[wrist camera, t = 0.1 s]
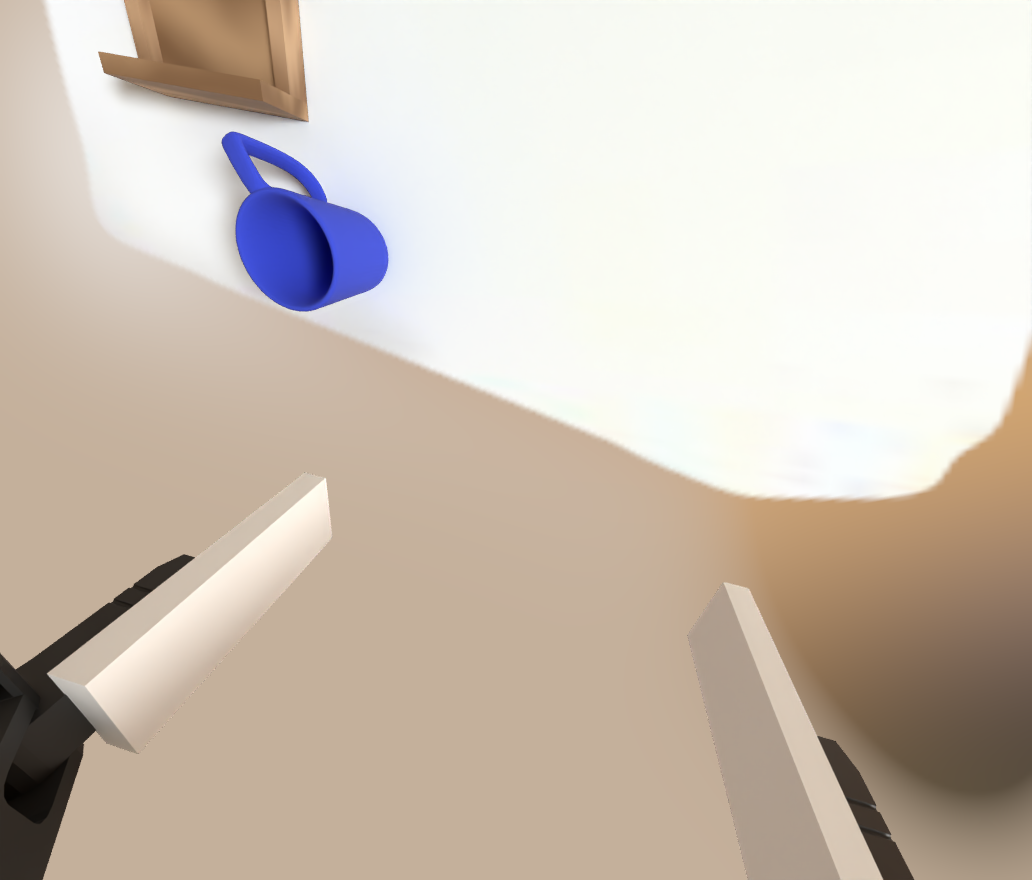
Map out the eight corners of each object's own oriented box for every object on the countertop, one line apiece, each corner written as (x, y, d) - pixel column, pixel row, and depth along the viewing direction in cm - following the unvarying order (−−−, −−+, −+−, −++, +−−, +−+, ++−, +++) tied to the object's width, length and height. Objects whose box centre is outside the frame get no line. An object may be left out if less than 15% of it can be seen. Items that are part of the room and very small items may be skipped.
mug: (346, 135, 31) (252, 92, 23) (414, 277, 36) (357, 286, 27) (280, 183, 34) (174, 161, 25) (351, 309, 38) (281, 327, 30)
